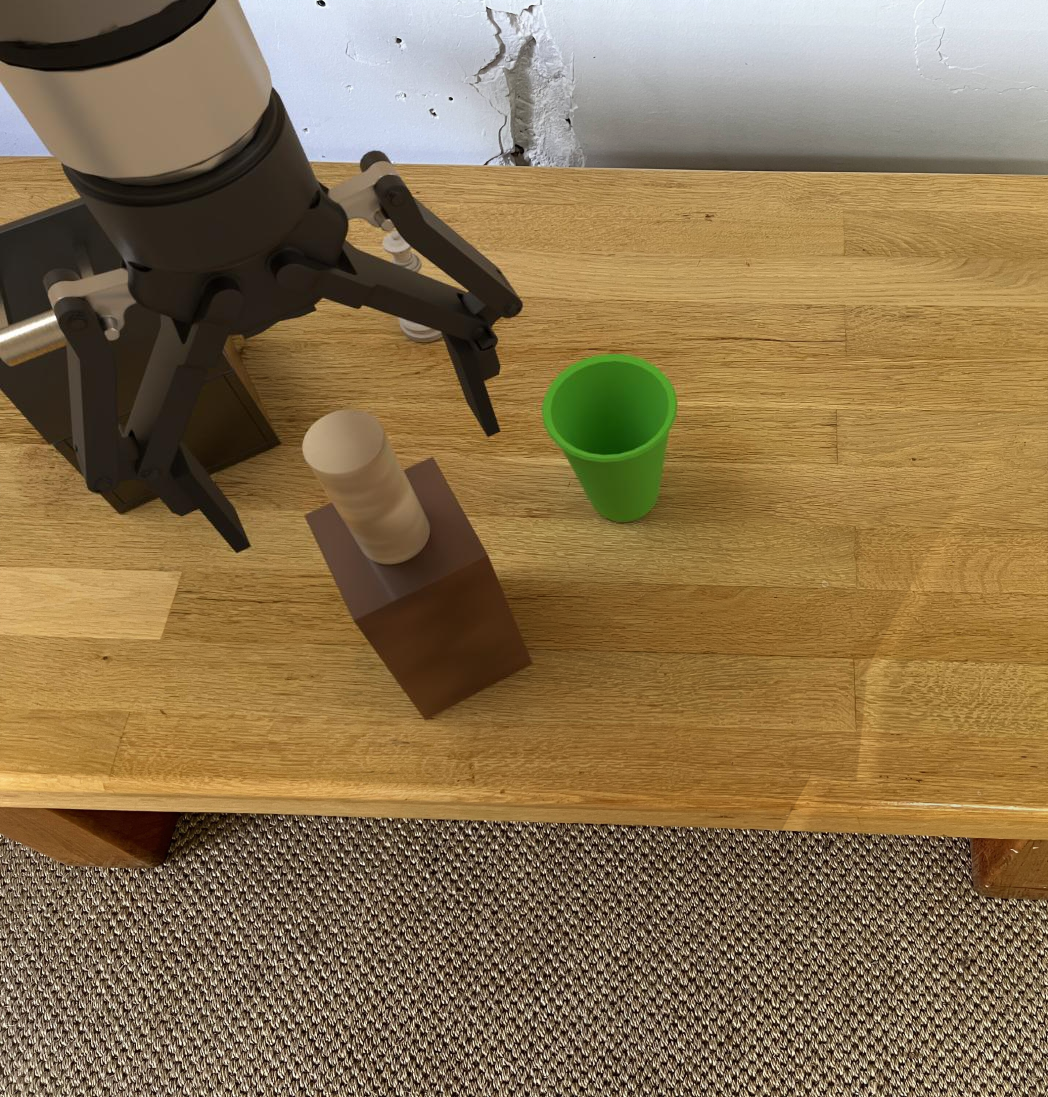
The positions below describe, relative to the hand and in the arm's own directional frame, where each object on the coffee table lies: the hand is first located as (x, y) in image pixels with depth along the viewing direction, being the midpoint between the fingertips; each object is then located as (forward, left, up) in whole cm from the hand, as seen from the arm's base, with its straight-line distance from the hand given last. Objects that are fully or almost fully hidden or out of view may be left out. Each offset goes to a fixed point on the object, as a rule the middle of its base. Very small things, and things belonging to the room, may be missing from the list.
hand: (364, 472), depth 53 cm
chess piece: (+10, +29, -21) cm, 37 cm away
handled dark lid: (-11, +25, -5) cm, 27 cm away
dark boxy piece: (-11, +30, -21) cm, 38 cm away
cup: (+16, +5, -21) cm, 27 cm away
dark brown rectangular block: (0, 0, -21) cm, 21 cm away
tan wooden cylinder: (0, 0, -6) cm, 6 cm away
